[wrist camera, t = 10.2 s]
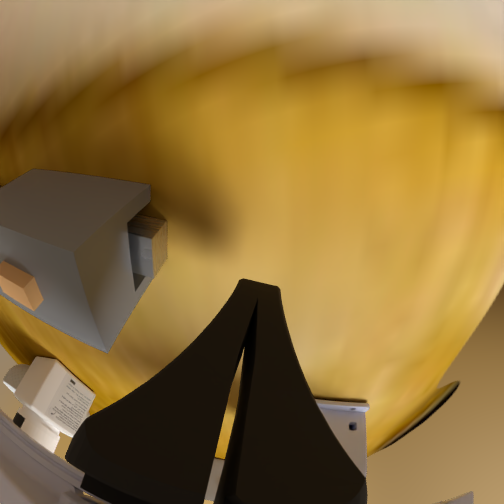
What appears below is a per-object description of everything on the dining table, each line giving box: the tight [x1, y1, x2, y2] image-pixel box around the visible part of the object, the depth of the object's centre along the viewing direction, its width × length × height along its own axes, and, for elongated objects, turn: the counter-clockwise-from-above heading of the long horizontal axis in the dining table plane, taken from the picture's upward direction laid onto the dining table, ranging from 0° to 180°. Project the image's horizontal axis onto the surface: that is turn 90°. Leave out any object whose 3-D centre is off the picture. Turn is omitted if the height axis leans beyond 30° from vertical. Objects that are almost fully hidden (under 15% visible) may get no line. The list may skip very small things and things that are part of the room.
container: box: [13, 356, 95, 453], centre depth 22 cm, size 8×8×13 cm
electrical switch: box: [205, 458, 225, 501], centre depth 35 cm, size 9×5×9 cm, turn 80°
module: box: [0, 169, 153, 353], centre depth 9 cm, size 8×5×6 cm, turn 81°
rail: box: [0, 186, 167, 278], centre depth 10 cm, size 16×7×4 cm, turn 81°
